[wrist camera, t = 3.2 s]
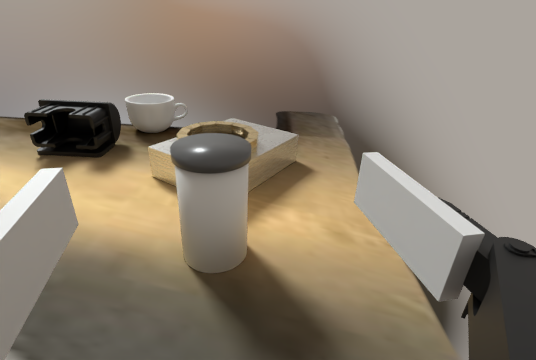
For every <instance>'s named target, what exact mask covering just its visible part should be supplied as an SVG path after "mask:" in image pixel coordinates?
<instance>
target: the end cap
mask: <svg viewBox="0 0 536 360" xmlns="http://www.w3.org/2000/svg"><path fill="white" fill-rule="evenodd" d="M38 102H39V106H40V107H39V108H37V109H34V110H32V111H29V112H27V113H25V115H24V117H25V121H26V123H27V125H32V124H34V123H36V122H38V121H41V122H42V128H41V129H40V130H38V131H36V132H34V133H32V134H30V136H31V140H32V143H33V144H34V145H35V146H37V147H41V148H39V149H37V152H38V154H40V155H59V156H80V157H101V156H103V155H104V154H105V153H106V152H108V151H109V150H110V149H111V148H112V147H113V146H114V145H115V142H116V141H117V140H118V138H119V135H120V130H121V121H120V115H119V112H118V110H117V108H116V107H115V105H113V104H112V103H108V102H87V101H64V100H45V99H43V100H39V101H38Z"/></svg>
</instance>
